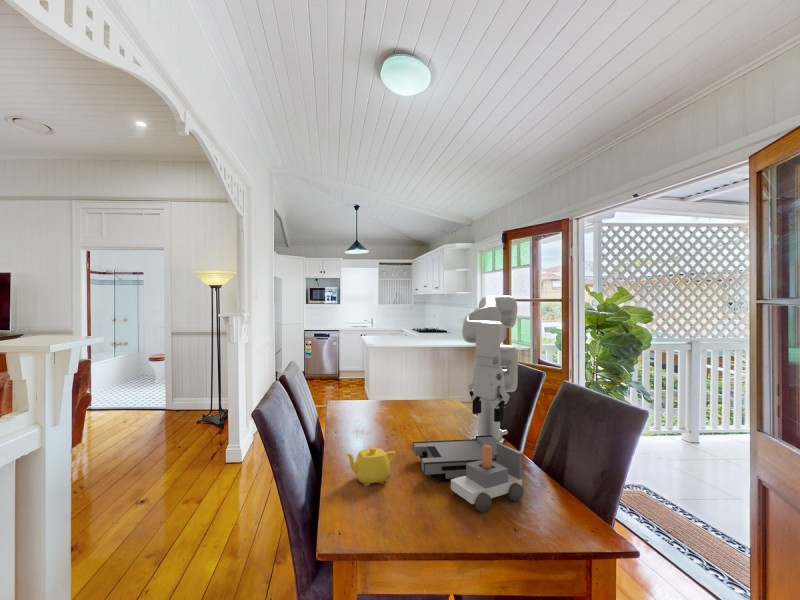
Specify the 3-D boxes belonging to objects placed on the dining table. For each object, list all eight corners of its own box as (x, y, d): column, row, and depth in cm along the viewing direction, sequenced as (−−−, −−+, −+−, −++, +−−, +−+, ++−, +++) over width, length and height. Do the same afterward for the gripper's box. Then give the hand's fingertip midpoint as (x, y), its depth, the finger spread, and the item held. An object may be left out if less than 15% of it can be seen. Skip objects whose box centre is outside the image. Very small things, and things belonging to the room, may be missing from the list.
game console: (412, 460, 145) (412, 438, 145) (491, 456, 150) (491, 435, 150) (424, 485, 124) (425, 460, 124) (515, 480, 129) (515, 455, 130)
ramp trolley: (495, 481, 127) (496, 441, 128) (525, 498, 116) (526, 454, 116) (447, 495, 118) (448, 451, 118) (475, 515, 106) (476, 467, 106)
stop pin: (487, 476, 119) (487, 444, 119) (493, 480, 116) (494, 447, 116) (479, 478, 117) (480, 445, 118) (486, 482, 115) (486, 449, 115)
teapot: (347, 492, 119) (348, 457, 119) (340, 477, 129) (341, 445, 129) (401, 483, 125) (401, 451, 125) (390, 469, 135) (390, 439, 135)
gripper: (517, 364, 112) (517, 423, 111) (478, 358, 127) (477, 409, 126) (499, 366, 108) (498, 426, 107) (460, 359, 123) (460, 412, 123)
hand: (487, 417), depth 117 cm, fingers open, 9 cm apart
